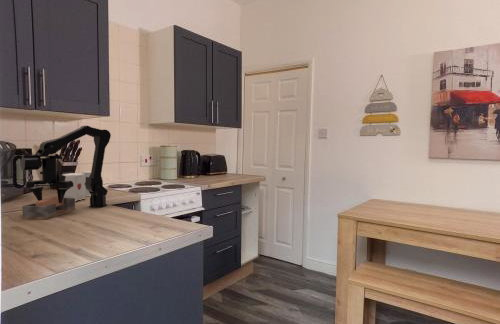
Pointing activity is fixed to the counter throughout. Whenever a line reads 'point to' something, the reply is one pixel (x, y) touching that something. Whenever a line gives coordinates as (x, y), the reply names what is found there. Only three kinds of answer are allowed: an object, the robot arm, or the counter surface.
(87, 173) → the skincare box
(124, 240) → the counter surface
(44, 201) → the rail
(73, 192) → the supplement box
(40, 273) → the counter surface
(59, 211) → the bracket stand
